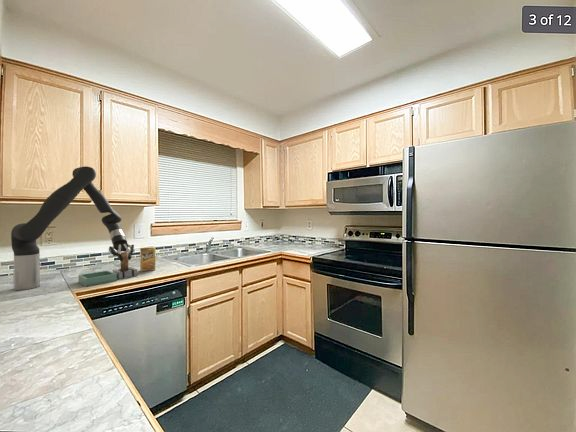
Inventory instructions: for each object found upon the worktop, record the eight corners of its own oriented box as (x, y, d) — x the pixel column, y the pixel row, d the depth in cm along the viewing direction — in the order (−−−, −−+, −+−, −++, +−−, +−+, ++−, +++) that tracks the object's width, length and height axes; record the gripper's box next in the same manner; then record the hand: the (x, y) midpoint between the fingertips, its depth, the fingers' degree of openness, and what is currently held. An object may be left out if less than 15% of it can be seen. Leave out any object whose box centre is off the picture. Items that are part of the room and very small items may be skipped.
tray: (86, 286, 131) (85, 279, 131) (78, 282, 140) (78, 274, 140) (116, 280, 143) (116, 273, 142) (108, 276, 151) (107, 270, 151)
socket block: (118, 279, 146) (118, 272, 146) (112, 276, 152) (112, 269, 152) (137, 275, 154) (137, 269, 154) (130, 273, 160) (130, 267, 160)
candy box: (140, 271, 165) (140, 248, 165) (140, 270, 169) (140, 247, 169) (155, 270, 169) (155, 247, 169) (155, 268, 173) (155, 246, 173)
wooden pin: (122, 275, 150) (122, 253, 150) (119, 274, 152) (119, 252, 152) (129, 273, 153) (129, 252, 153) (126, 272, 156) (126, 251, 155)
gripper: (106, 235, 151) (113, 257, 144) (132, 233, 163) (140, 254, 156) (103, 243, 155) (110, 265, 147) (129, 241, 166) (136, 261, 159)
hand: (125, 259), depth 152 cm, fingers closed on wooden pin, 4 cm apart
